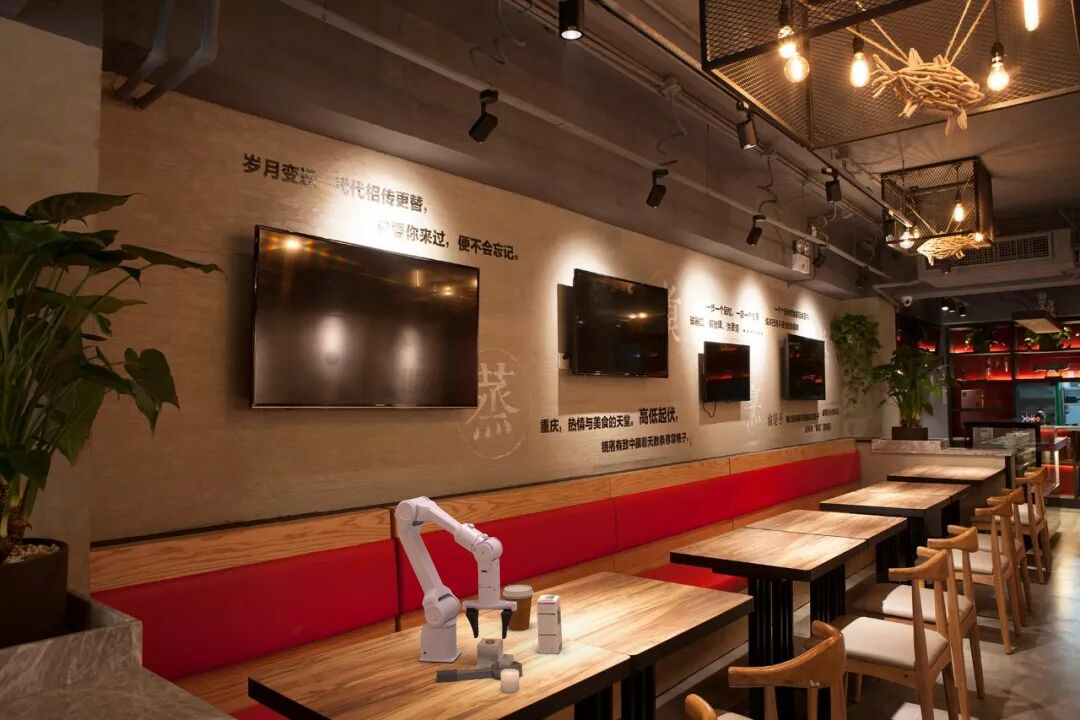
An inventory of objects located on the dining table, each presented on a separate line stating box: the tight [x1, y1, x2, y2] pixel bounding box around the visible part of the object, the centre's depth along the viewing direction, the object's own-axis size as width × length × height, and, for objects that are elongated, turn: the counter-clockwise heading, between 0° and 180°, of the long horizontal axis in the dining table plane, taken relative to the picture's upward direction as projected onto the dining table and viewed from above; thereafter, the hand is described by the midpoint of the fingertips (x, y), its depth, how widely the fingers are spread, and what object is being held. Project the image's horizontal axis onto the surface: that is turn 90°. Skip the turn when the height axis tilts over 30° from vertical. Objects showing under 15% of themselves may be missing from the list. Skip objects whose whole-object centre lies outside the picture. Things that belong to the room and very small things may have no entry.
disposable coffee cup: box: [502, 584, 534, 632], centre depth 216 cm, size 10×10×12 cm
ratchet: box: [436, 653, 523, 683], centre depth 177 cm, size 21×11×4 cm, turn 80°
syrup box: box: [536, 594, 563, 655], centre depth 195 cm, size 6×6×14 cm
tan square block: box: [476, 637, 504, 668], centre depth 185 cm, size 6×6×6 cm
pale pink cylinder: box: [500, 669, 520, 694], centre depth 168 cm, size 4×4×4 cm
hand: (490, 637), depth 186 cm, fingers open, 7 cm apart
